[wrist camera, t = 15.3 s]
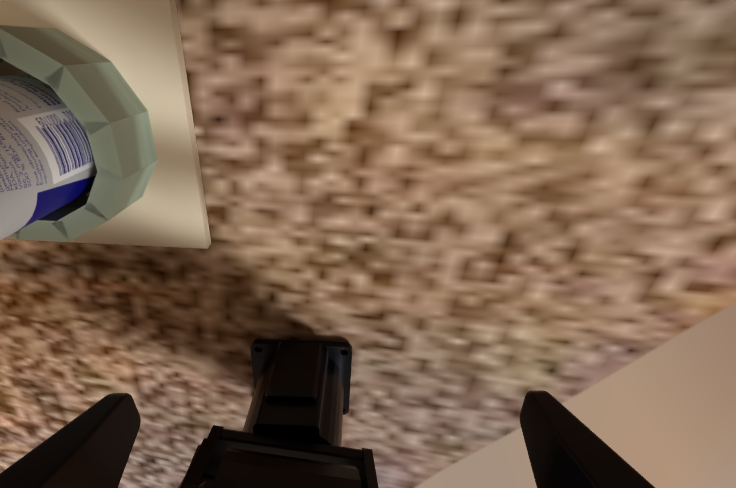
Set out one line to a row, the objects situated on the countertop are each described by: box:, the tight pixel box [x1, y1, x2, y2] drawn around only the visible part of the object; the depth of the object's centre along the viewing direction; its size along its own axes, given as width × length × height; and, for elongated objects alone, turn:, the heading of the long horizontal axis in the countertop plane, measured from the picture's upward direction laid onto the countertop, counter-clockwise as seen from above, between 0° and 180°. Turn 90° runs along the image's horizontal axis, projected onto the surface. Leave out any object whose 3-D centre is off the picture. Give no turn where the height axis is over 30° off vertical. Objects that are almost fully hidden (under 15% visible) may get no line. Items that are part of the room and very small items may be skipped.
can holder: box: [0, 0, 211, 249], centre depth 17 cm, size 12×12×4 cm
